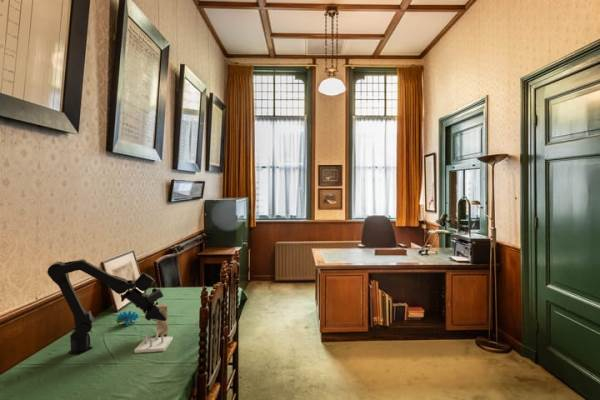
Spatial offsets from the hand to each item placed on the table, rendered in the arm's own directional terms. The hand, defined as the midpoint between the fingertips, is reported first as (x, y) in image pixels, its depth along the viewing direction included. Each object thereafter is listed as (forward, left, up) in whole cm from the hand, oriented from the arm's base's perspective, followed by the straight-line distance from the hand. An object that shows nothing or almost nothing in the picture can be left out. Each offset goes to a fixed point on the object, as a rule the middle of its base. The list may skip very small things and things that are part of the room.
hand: (165, 318), depth 160 cm
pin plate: (-12, -4, -7) cm, 15 cm away
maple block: (-1, +1, -7) cm, 7 cm away
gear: (+6, +29, -8) cm, 30 cm away
